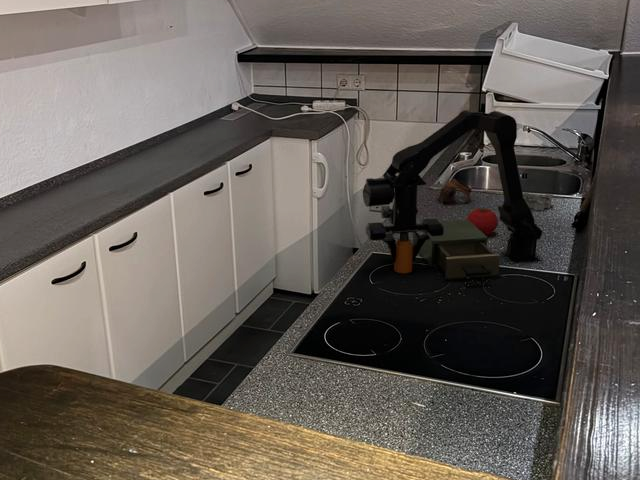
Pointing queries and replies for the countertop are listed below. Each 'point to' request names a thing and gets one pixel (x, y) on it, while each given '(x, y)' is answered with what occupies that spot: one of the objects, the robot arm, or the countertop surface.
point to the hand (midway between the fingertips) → (403, 260)
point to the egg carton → (537, 200)
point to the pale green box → (451, 237)
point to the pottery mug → (453, 190)
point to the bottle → (403, 254)
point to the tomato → (483, 220)
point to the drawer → (466, 259)
